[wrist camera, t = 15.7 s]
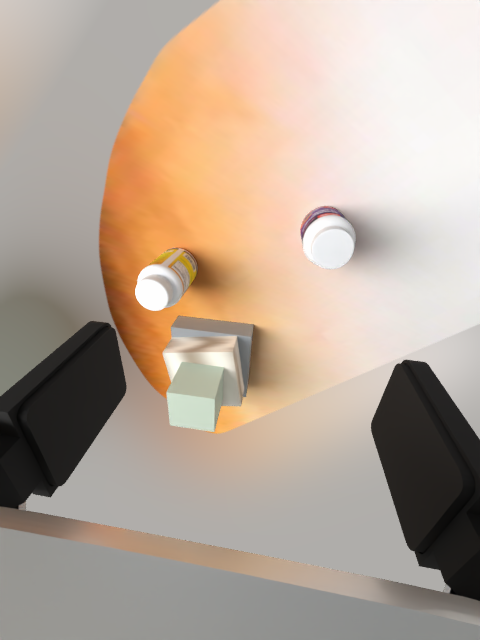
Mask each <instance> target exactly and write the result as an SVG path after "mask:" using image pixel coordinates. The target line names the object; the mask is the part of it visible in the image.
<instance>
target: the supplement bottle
mask: <svg viewBox="0 0 480 640" xmlns="http://www.w3.org/2000/svg"><path fill="white" fill-rule="evenodd" d="M197 271H198V268H197V263H196V260H195V258H194V257H193V256H192V255H191V254H190V253H189V252H188V251H186V250H184V249H181V248H171V249H168V250H167V251H165V252H164V253H163V254H161V255H160V256H159V257H158V258H157V259H155V260H154V261H153V262H152V263H150V264H149V265H148V266H147V267H145V268H144V269H143V270H142V271H141V273H140V274H139V277H138V281H137V282H138V284H137V286H136V289H135V294H136V298H137V300H138V301H139V303H140V304H141V305H142V306H143V307H145V308H147V309H149V310H152V311H158V310H162V309H163V308H167V307H171V306H173V305H175V304H176V303H177V302H178V301H179V300H180V299H181V297H182V296H183V294H184V293H185V292H186V290H187V289H188V287H189V286H190V285H191V283H192V282H193V280H194V279H195V277H196V275H197Z"/></svg>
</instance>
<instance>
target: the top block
mask: <svg viewBox="0 0 480 640" xmlns="http://www.w3.org/2000/svg"><path fill="white" fill-rule="evenodd" d="M163 356H164V360H165V363H166V366H167V370H168V373H169V376H170V380H171V382H172V380H173V378H174V376H175V374H176V372H177V370H178V368H179V366H180V364H181V362H188V363H195V364H203V365H211V366H218V367H224V377H223V400H222V404H221V406H241V404H242V398H243V392H244V382H243V375H242V368H241V361H240V354H239V347H238V339H237V336H207V337H172V338H171V340H170V342H169V343H168V345H167V346H166V348H165V350H164V351H163Z"/></svg>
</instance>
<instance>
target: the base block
mask: <svg viewBox="0 0 480 640" xmlns="http://www.w3.org/2000/svg"><path fill="white" fill-rule="evenodd" d="M253 326H254V325H253V324H245V323H236V322H228V321H219V320H211V319H203V318H194V317H186V316H178V317H177V319H176V320H175V322H174V323H173V325H172V326H171V333H172V337H207V336H237V339H238V347H239V354H240V361H241V368H242V375H243V382H244V392H243V397H246V393H247V387H248V380H249V369H250V358H251V347H252V337H253Z"/></svg>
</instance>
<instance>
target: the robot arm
mask: <svg viewBox="0 0 480 640" xmlns="http://www.w3.org/2000/svg"><path fill="white" fill-rule="evenodd" d="M125 392H126V382H125V376H124V371H123V366H122V361H121V356H120V351H119V346H118V341H117V336H116V331H115V329H114V328H112V327H111V325H110V324H109V323H104V322H96V321H90V322H89V323H87V324H86V325H85V326H84V327H83V328H81V329H80V330H79V331H78V332H77V333H75V334H74V335H73V336H72V337H71V338H69V339H68V340H67V341H66V342H65V343H63V344H62V345H61V346H60V347H59V348H57V349H56V350H55V351H54V352H53V353H52V354H50V355H49V356H48V357H47V358H46V359H44V360H43V361H42V362H41V363H40V364H38V365H37V366H36V367H35V368H34V369H32V370H31V371H30V372H29V373H28V374H27V375H25V376H24V377H23V378H22V379H21V380H19V381H18V382H17V383H16V384H15V385H13V386H12V387H11V388H10V389H9V390H8V391H6V392H5V393H4V394H3V395H2V396H0V640H480V439H479V438H478V436H477V435H476V434H475V432H474V431H473V429H472V428H471V426H470V425H469V424H468V422H467V420H466V419H465V418H464V416H463V415H462V413H461V412H460V410H459V409H458V408H457V406H456V405H455V403H454V402H453V400H452V399H451V397H450V396H449V394H448V393H447V391H446V390H445V388H444V387H443V386H442V384H441V383H440V381H439V380H438V378H437V377H436V375H435V374H434V372H433V371H432V370H431V368H430V367H429V365H428V364H427V363H425V362H420V361H412V360H404V361H403V362H402V363H401V364H397V365H396V366H395V368H394V370H393V373H392V375H391V377H390V380H389V382H388V384H387V387H386V389H385V391H384V394H383V396H382V399H381V401H380V403H379V406H378V408H377V410H376V413H375V415H374V417H373V420H372V423H371V431H372V435H373V438H374V441H375V445H376V448H377V451H378V454H379V457H380V460H381V464H382V467H383V470H384V473H385V476H386V479H387V483H388V486H389V489H390V492H391V496H392V499H393V502H394V505H395V508H396V511H397V515H398V518H399V521H400V524H401V528H402V530H403V534H404V537H405V540H406V543H407V545H408V547H409V549H410V550H412V551H415V554H416V557H417V561H418V564H419V566H422V567H427V568H432V569H438V570H441V573H442V576H443V579H444V582H445V583H446V585H445V588H444V590H443V592H440V591H435V590H430V589H426V588H421V587H417V586H412V585H407V584H403V583H398V582H393V581H389V580H385V579H380V578H374V577H369V576H364V575H359V574H354V573H349V572H344V571H339V570H334V569H329V568H324V567H319V566H314V565H308V564H304V563H299V562H294V561H289V560H284V559H279V558H274V557H269V556H263V555H258V554H253V553H248V552H243V551H238V550H232V549H227V548H222V547H217V546H212V545H206V544H201V543H196V542H191V541H186V540H180V539H175V538H170V537H165V536H159V535H154V534H149V533H144V532H138V531H133V530H127V529H123V528H117V527H111V526H107V525H101V524H96V523H90V522H85V521H80V520H75V519H69V518H64V517H58V516H53V515H48V514H42V513H37V512H31V511H26V500H27V498H28V497H29V496H30V494H31V493H33V494H36V495H41V496H47V497H51V496H52V494H53V493H54V492H55V490H56V489H57V487H58V486H62V485H63V484H64V483H65V482H66V480H67V479H68V478H69V477H70V475H71V474H72V472H73V471H74V469H75V468H76V466H77V465H78V463H79V462H80V460H81V459H82V457H83V456H84V454H85V453H86V451H87V450H88V448H89V447H90V446H91V444H92V443H93V441H94V439H95V438H96V436H97V435H98V434H99V432H100V430H101V429H102V428H103V426H104V425H105V423H106V422H107V420H108V419H109V417H110V416H111V414H112V413H113V411H114V410H115V409H116V407H117V405H118V404H119V403H120V401H121V400H122V398H123V396H124V395H125Z"/></svg>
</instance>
